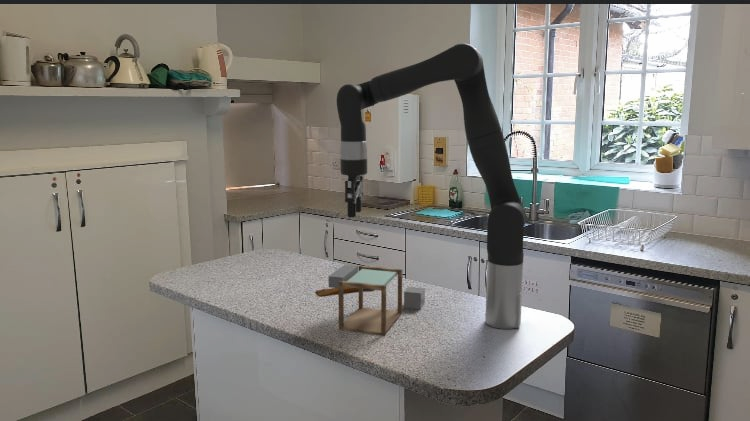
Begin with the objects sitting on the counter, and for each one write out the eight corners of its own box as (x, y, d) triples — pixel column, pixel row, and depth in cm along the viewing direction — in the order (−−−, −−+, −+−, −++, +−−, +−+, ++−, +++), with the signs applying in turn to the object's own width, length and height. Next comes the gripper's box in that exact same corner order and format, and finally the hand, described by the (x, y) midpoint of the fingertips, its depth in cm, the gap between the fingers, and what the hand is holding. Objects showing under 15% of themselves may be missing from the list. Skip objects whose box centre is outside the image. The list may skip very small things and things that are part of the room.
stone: (424, 304, 172) (424, 288, 171) (420, 309, 167) (420, 293, 166) (408, 302, 173) (408, 286, 172) (403, 308, 168) (404, 291, 168)
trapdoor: (396, 278, 161) (396, 268, 160) (381, 294, 148) (381, 282, 147) (345, 274, 165) (345, 263, 165) (327, 288, 152) (327, 277, 152)
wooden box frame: (401, 313, 163) (402, 269, 161) (384, 335, 148) (385, 286, 146) (359, 309, 167) (359, 265, 165) (338, 329, 152) (338, 281, 149)
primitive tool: (318, 298, 178) (318, 287, 177) (314, 293, 183) (314, 282, 182) (377, 291, 185) (377, 280, 184) (371, 286, 190) (371, 276, 189)
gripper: (362, 159, 155) (363, 219, 157) (371, 155, 168) (371, 210, 171) (335, 159, 156) (336, 218, 158) (345, 155, 170) (346, 210, 172)
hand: (354, 214), depth 165 cm, fingers open, 8 cm apart
